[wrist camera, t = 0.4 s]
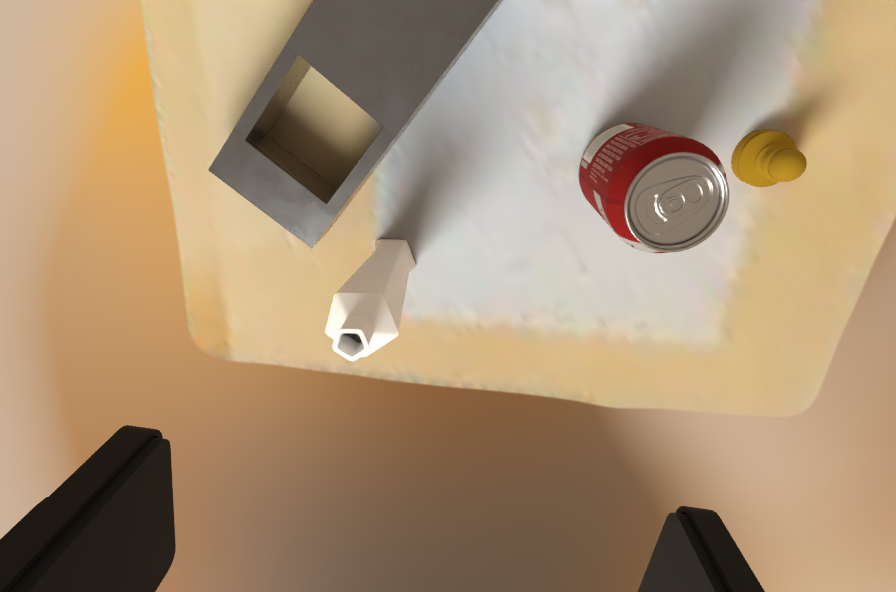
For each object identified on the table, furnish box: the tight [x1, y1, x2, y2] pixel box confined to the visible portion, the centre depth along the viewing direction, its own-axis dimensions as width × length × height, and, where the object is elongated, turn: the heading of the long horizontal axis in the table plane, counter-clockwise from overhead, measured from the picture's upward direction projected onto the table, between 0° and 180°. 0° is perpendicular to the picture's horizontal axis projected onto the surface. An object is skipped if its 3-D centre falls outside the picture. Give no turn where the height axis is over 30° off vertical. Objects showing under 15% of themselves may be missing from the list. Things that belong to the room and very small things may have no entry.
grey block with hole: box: [209, 0, 502, 248], centre depth 36 cm, size 22×9×4 cm, turn 141°
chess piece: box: [731, 130, 807, 187], centre depth 36 cm, size 4×4×5 cm
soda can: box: [579, 123, 729, 253], centre depth 34 cm, size 7×7×12 cm
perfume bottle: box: [325, 239, 416, 361], centre depth 36 cm, size 5×4×15 cm
